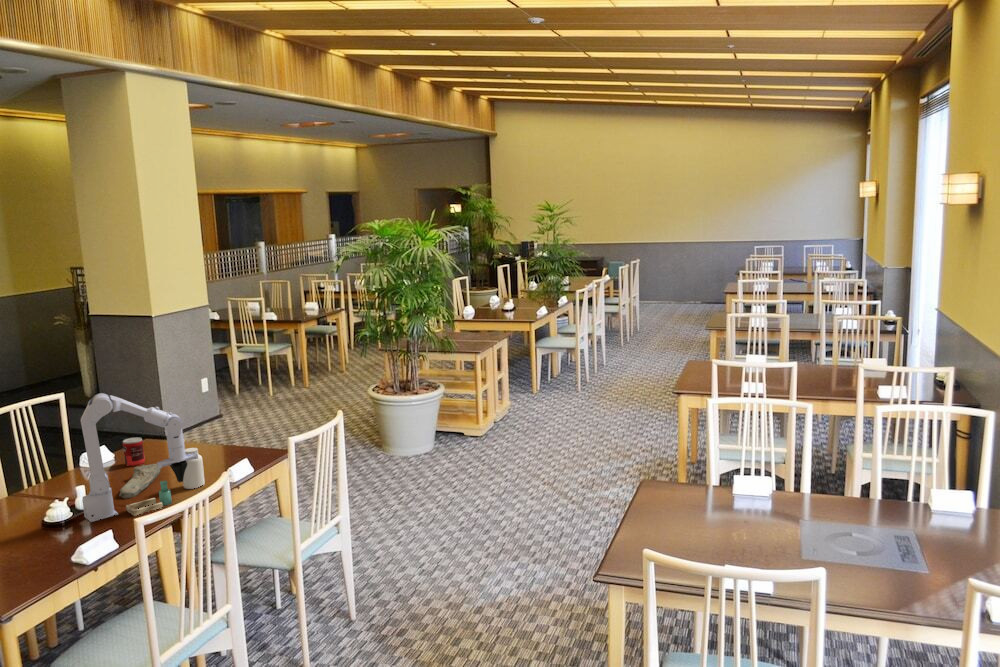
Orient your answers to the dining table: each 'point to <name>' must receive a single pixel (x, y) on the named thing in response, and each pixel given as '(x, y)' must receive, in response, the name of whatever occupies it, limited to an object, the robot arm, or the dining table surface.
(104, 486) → the robot arm
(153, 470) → the grey rock slab
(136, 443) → the canned food
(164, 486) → the bottle
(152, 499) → the cradle
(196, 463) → the pill bottle
